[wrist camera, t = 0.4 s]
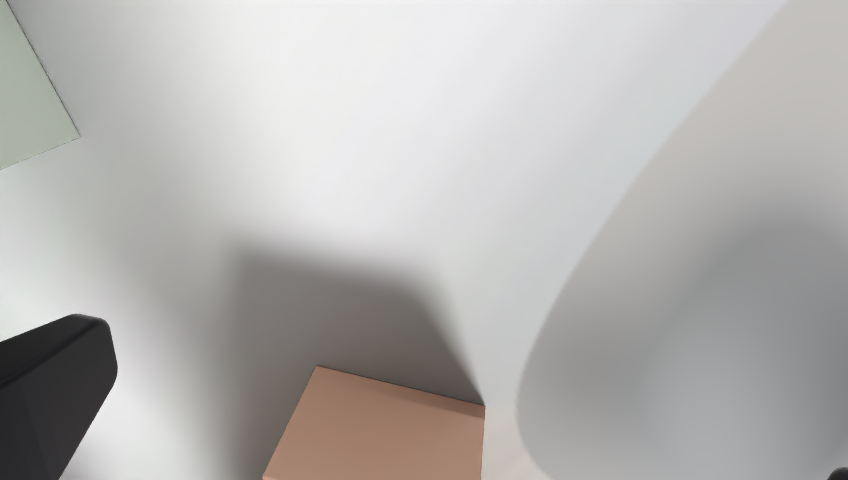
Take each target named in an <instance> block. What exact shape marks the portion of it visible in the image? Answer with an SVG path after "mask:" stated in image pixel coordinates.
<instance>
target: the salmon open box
mask: <svg viewBox="0 0 848 480" xmlns="http://www.w3.org/2000/svg"><path fill="white" fill-rule="evenodd" d="M484 419H485V406H482V405H478V404H474V403H470V402H466V401H461V400H457V399H453V398H449V397H445V396H441V395H436V394H432V393H428V392H424V391H420V390H415V389H411V388H407V387H403V386H399V385H395V384H390V383H386V382H382V381H378V380H374V379H369V378H365V377H361V376H357V375H353V374H349V373H344V372H340V371H336V370H332V369H328V368H323V367H319V366H316V367H315V369H314V371H313V373H312V375H311V377H310V379H309V381H308V383H307V385H306V388H305V390H304V392H303V394H302V396H301V398H300V400H299V402H298V404H297V406H296V408H295V410H294V412H293V414H292V416H291V418H290V420H289V422H288V425H287V427H286V429H285V431H284V433H283V435H282V437H281V439H280V441H279V443H278V445H277V447H276V449H275V451H274V453H273V455H272V457H271V459H270V462H269V464H268V466H267V468H266V470H265V472H264V474H263V477H262V480H481V467H482V451H483V435H484Z"/></svg>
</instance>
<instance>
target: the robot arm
mask: <svg viewBox="0 0 848 480" xmlns="http://www.w3.org/2000/svg"><path fill="white" fill-rule="evenodd" d="M117 369H118V366H117V360H116V355H115V350H114V346H113V341H112V336H111V331H110V327H109V325H108V323H107V322H106V321H105V320H103V319H101V318H97V317H92V316H87V315H82V314H71V315H68V316H66V317H63V318H60V319H58V320H55V321H53V322H50V323H48V324H45V325H43V326H40V327H37V328H35V329H32V330H30V331H27V332H25V333H22V334H20V335H17V336H15V337H12V338H9V339H7V340H4V341H2V342H0V480H59V478H60V476H61V475H62V473H63V471H64V470H65V468H66V466H67V465H68V463H69V461H70V459H71V458H72V456H73V454H74V453H75V451H76V449H77V447H78V446H79V444H80V442H81V440H82V439H83V437H84V435H85V434H86V432H87V430H88V428H89V427H90V425H91V423H92V421H93V420H94V418H95V416H96V415H97V413H98V411H99V409H100V408H101V406H102V404H103V402H104V401H105V399H106V397H107V395H108V394H109V392H110V390H111V389H112V387H113V385H114V383H115V380H116V377H117ZM827 480H848V468H847V467H841V468H837V469H836V470H834V471H833V472H832V473H831V474H830V476H829V478H828V479H827Z"/></svg>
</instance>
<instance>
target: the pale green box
mask: <svg viewBox="0 0 848 480" xmlns="http://www.w3.org/2000/svg"><path fill="white" fill-rule="evenodd" d="M79 137H80V135H79V133H78V131H77V130H76V128H75V126H74V124H73V122H72V120H71V119H70V117H69V115H68V113H67V111H66V110H65V108H64V106H63V104H62V102H61V100H60V99H59V97H58V95H57V93H56V91H55V89H54V88H53V86H52V84H51V82H50V80H49V78H48V77H47V75H46V73H45V71H44V69H43V67H42V66H41V64H40V62H39V60H38V58H37V57H36V55H35V53H34V51H33V49H32V47H31V46H30V44H29V42H28V40H27V38H26V36H25V35H24V33H23V31H22V29H21V27H20V25H19V24H18V22H17V20H16V18H15V16H14V14H13V13H12V11H11V9H10V7H9V5H8V4H7V2H6V0H0V170H1V169H3V168H6V167H8V166H11V165H13V164H15V163H18V162H20V161H23V160H25V159H28V158H30V157H33V156H35V155H38V154H40V153H42V152H45V151H47V150H50V149H52V148H55V147H57V146H60V145H62V144H65V143H67V142H69V141H72V140H74V139H77V138H79Z"/></svg>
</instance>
